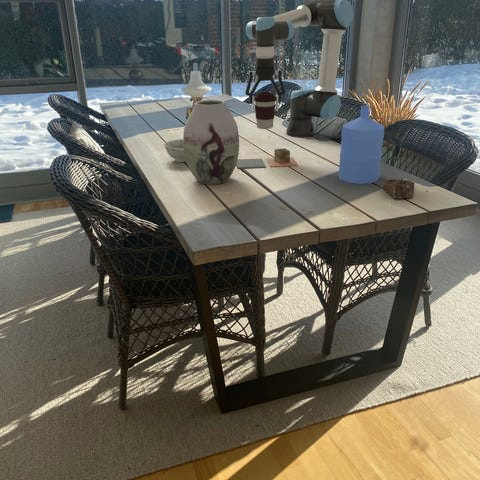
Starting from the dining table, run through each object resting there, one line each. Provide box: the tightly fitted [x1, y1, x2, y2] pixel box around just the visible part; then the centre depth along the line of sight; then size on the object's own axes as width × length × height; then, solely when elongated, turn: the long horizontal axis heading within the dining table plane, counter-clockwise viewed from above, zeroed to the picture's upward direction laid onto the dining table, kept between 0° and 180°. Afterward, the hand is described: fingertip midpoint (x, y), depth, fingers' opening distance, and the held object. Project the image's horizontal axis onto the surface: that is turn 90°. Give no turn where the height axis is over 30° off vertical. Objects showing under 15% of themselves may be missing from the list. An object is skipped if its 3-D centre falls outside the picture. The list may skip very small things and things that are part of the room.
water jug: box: [337, 105, 385, 185], centre depth 186 cm, size 16×16×28 cm
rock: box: [382, 178, 415, 200], centre depth 173 cm, size 13×8×6 cm, turn 3°
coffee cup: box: [253, 91, 276, 130], centre depth 215 cm, size 10×10×15 cm
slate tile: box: [236, 158, 267, 170], centre depth 211 cm, size 12×12×1 cm
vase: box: [182, 99, 240, 186], centre depth 186 cm, size 21×21×30 cm
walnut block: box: [273, 148, 291, 164], centre depth 211 cm, size 5×5×5 cm
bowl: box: [163, 138, 187, 163], centre depth 217 cm, size 16×16×8 cm
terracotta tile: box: [266, 156, 299, 168], centre depth 212 cm, size 12×12×1 cm
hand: (265, 111), depth 215 cm, fingers closed on coffee cup, 10 cm apart
